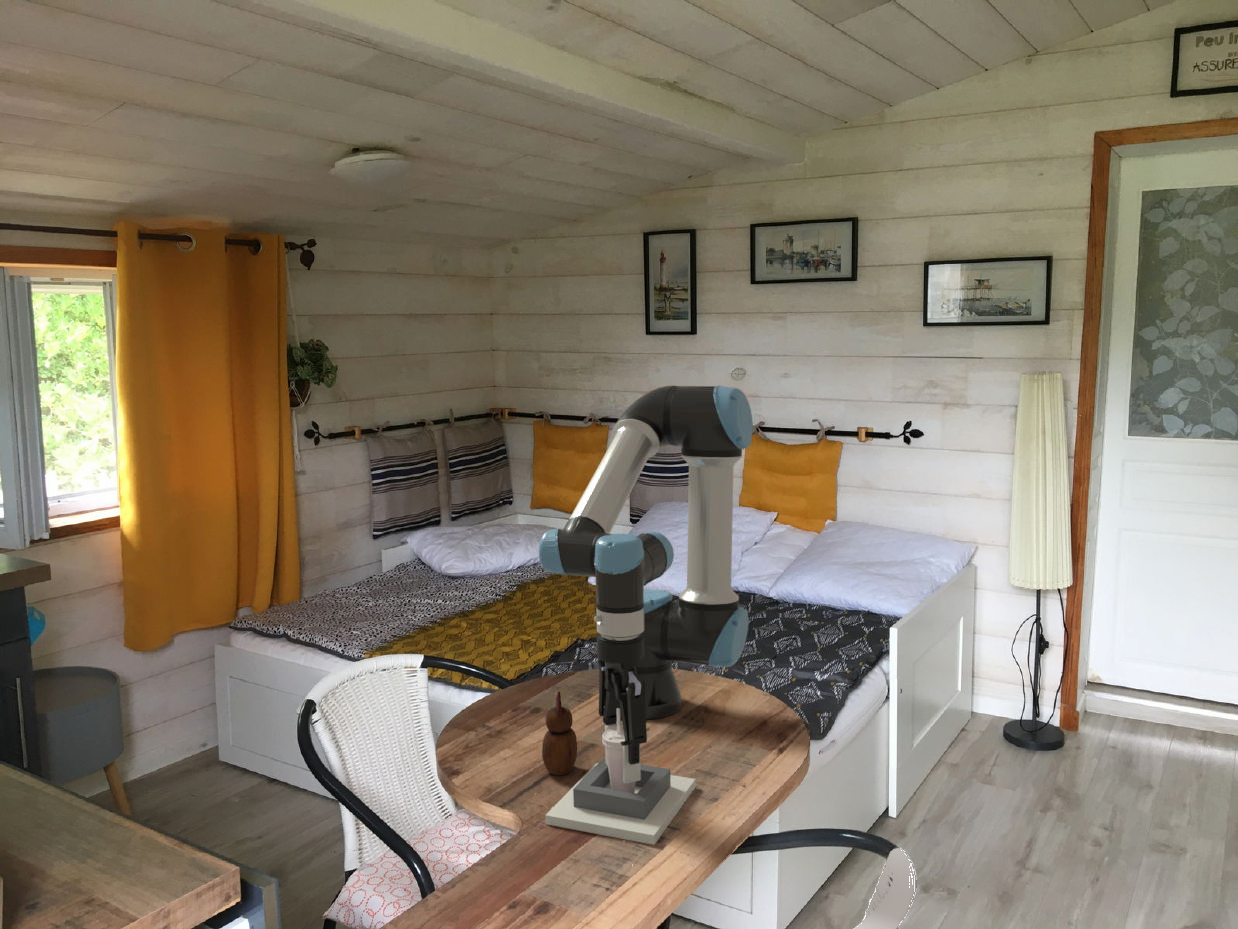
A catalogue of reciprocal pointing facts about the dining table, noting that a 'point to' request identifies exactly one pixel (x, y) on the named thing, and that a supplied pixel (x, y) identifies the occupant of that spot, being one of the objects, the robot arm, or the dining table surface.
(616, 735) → the smoothie
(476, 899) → the dining table surface
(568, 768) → the wooden figurine
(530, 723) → the dining table surface
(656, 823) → the socket board
